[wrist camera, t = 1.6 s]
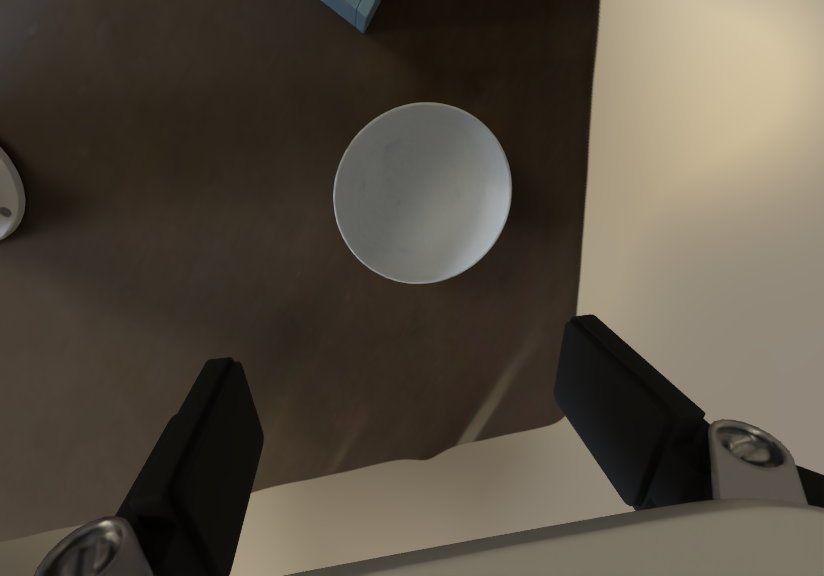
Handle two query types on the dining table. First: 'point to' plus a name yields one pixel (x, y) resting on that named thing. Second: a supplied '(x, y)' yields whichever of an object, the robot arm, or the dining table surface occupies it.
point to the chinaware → (422, 193)
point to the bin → (355, 11)
